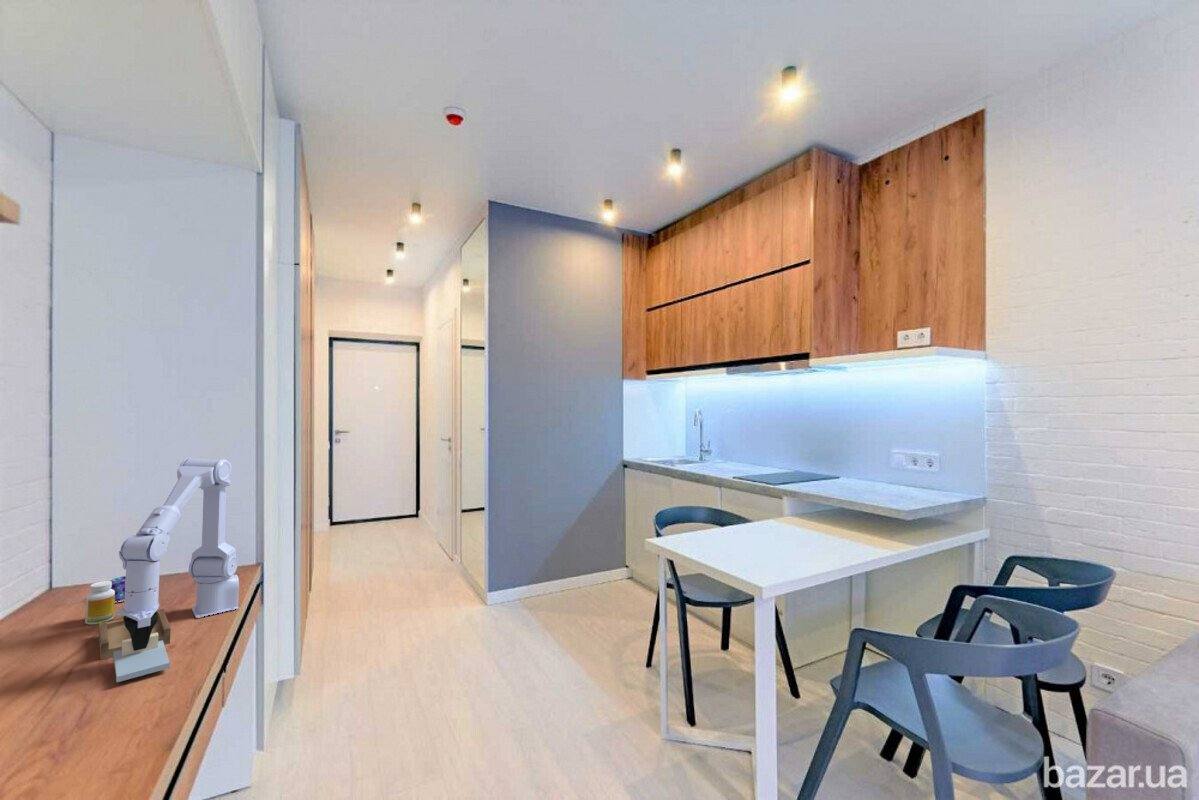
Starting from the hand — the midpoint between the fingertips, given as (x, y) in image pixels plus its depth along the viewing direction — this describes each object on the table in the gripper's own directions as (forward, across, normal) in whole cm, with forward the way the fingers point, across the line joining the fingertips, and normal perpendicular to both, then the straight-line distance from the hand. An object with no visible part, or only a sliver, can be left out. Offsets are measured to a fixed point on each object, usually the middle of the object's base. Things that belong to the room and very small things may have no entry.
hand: (139, 647), depth 114 cm
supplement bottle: (+4, -31, -6) cm, 32 cm away
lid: (+2, +3, 0) cm, 4 cm away
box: (+3, -13, 0) cm, 13 cm away
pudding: (+4, -47, 0) cm, 47 cm away
